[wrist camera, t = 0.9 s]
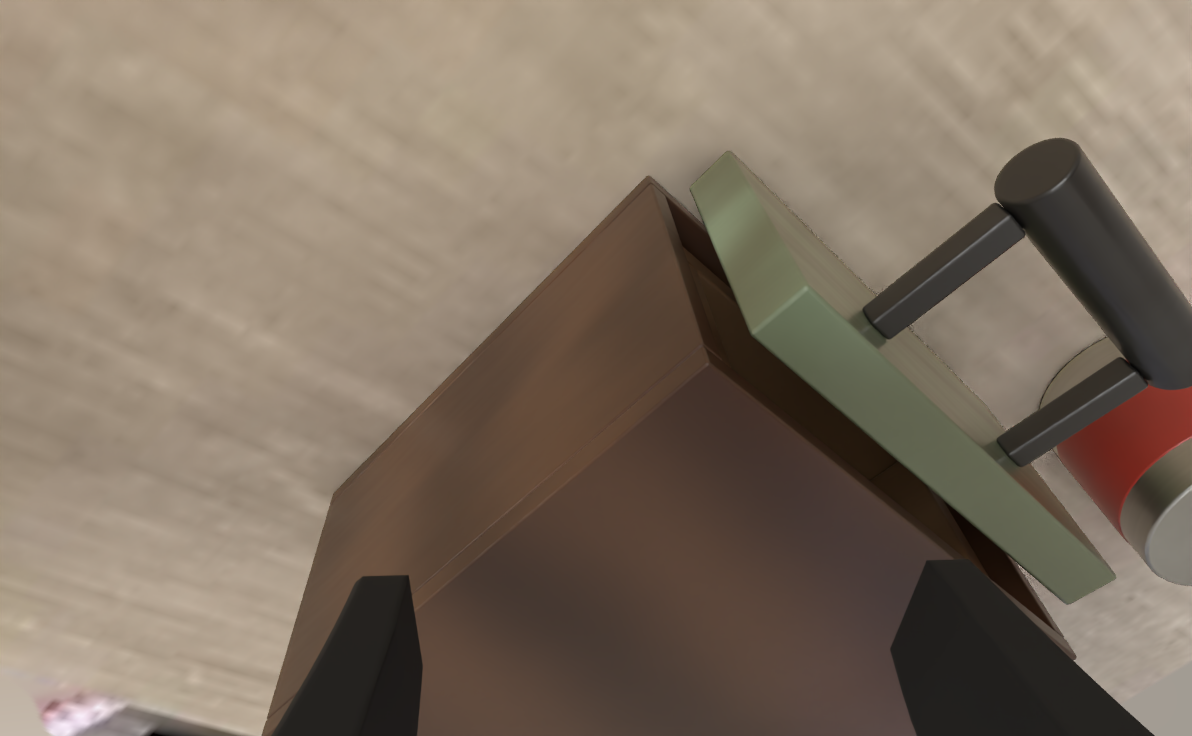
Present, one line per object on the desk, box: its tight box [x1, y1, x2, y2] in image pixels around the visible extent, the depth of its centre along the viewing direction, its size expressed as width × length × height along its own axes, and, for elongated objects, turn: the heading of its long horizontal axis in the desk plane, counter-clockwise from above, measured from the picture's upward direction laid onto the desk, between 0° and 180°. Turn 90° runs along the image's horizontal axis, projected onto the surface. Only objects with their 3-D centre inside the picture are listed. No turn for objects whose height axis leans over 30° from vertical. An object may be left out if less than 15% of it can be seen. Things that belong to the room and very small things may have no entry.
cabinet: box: [262, 176, 1076, 736], centre depth 20 cm, size 13×12×8 cm
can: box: [1040, 337, 1192, 586], centre depth 20 cm, size 5×5×5 cm
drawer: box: [683, 138, 1192, 605], centre depth 18 cm, size 16×11×6 cm, turn 137°
